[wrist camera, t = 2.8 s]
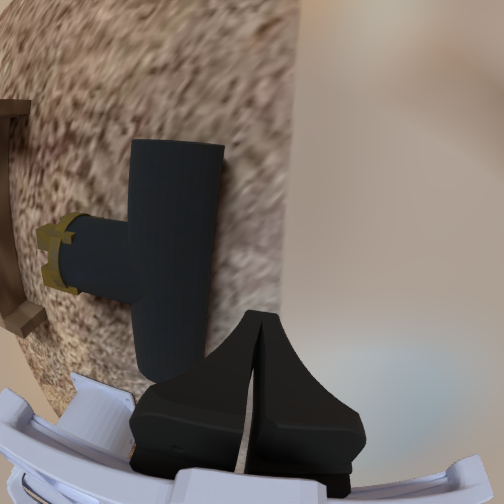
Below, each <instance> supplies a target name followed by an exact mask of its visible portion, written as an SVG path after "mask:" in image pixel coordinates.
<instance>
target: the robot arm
mask: <svg viewBox="0 0 504 504" xmlns="http://www.w3.org/2000/svg"><path fill="white" fill-rule="evenodd" d="M253 368H254V373H253V412H252V421H251V428H250V436H249V443H248V449H247V456H246V463H245V469H244V474H240V473H234V471H235V467H236V463H237V458H238V454H239V449H240V445H241V440H242V435H243V430H244V423H245V416H246V406H247V397H248V388H249V383H250V379H251V375H252V371H253ZM70 375H71V378H72V381H73V383H74V386H75V388H76V391H77V394H76V395H75V396H74V398H73V399H72V401H71V402H70V404H69V405H68V407H67V408H66V410H65V411H64V413H63V414H62V416H61V417H60V419H59V421H58V422H57V424H56V425H54V424H52V423H50V422H48V421H46V420H45V419H43V418H41V417H40V416H38V415H36V414H35V413H34V411H33V409H32V408H31V406H30V405H29V404H28V402H27V401H26V400H25V399H24V398H22V397H21V396H19V395H18V394H16V393H15V392H13V391H12V390H10V389H9V388H5V389H4V390H3V391H2V393H1V394H0V453H1V454H2V455H3V456H4V457H5V458H6V459H7V460H8V461H10V462H11V463H12V464H14V465H15V466H14V468H13V469H12V471H11V473H12V474H11V476H10V477H9V479H8V481H7V485H8V487H7V491H8V493H9V495H10V497H11V499H12V501H13V503H14V504H43V503H42V502H40V501H39V500H37V499H36V498H34V497H33V496H31V495H30V494H29V493H28V492H27V491H26V490H25V489H24V487H26V488H27V489H28V490H30V491H31V492H33V493H34V494H35V495H37V496H38V497H40V498H41V499H43V500H44V501H45V502H47V503H49V504H484V503H486V502H487V501H488V500H490V499H491V498H493V496H494V495H493V492H492V489H491V486H490V483H489V480H488V477H487V475H486V472H485V469H484V467H483V464H482V461H481V459H480V456H479V454H475V455H472V456H469V457H465V458H463V459H460V460H458V461H456V462H455V463H453V464H452V465H451V466H450V467H449V468H448V469H447V470H446V471H443V472H439V473H435V474H431V475H427V476H423V477H419V478H414V479H410V480H405V481H399V482H394V483H387V484H381V485H373V486H365V487H355V488H351V485H350V476H349V474H351V473H352V463H351V462H352V461H353V460H354V459H355V458H356V457H357V455H358V454H359V453H360V452H361V451H362V450H363V448H364V446H365V444H366V435H365V430H364V427H363V424H362V421H361V419H360V416H359V414H358V413H357V412H355V411H354V410H353V409H351V408H349V407H348V406H347V405H345V404H343V403H342V402H341V401H339V400H338V399H337V398H336V397H334V396H333V395H332V394H331V393H329V392H328V391H327V390H326V389H325V388H324V387H323V386H322V385H321V384H320V383H319V382H318V381H317V380H316V379H315V378H314V377H313V376H312V375H311V373H310V372H309V371H308V370H307V368H306V367H305V366H304V364H303V363H302V362H301V360H300V359H299V357H298V355H297V354H296V352H295V351H294V349H293V347H292V345H291V344H290V342H289V340H288V338H287V336H286V334H285V331H284V329H283V327H282V324H281V322H280V319H279V316H278V315H277V314H275V313H268V312H261V311H255V310H247V311H246V312H245V314H244V316H243V318H242V319H241V321H240V322H239V324H238V325H237V327H236V328H235V329H234V330H233V332H232V333H231V334H230V335H229V336H228V337H227V338H226V339H225V340H224V342H223V343H222V344H221V345H220V346H219V347H218V348H216V349H215V350H214V351H213V352H212V353H211V354H209V355H208V356H207V357H206V358H204V359H203V360H201V361H200V362H199V363H197V364H196V365H194V366H193V367H191V368H189V369H188V370H186V371H184V372H182V373H180V374H178V375H176V376H174V377H172V378H170V379H168V380H165V381H162V382H160V383H157V384H154V385H151V386H149V388H148V389H147V390H146V391H145V393H144V394H143V395H142V397H141V398H140V400H139V401H138V403H137V404H136V406H135V402H134V398H133V396H132V394H130V393H128V392H125V391H122V390H119V389H116V388H113V387H111V386H108V385H105V384H102V383H100V382H97V381H94V380H92V379H89V378H87V377H84V376H82V375H79V374H77V373H74V372H72V373H71V374H70ZM134 442H135V443H136V445H137V446H136V448H135V450H134V453H133V455H132V457H131V459H129V458H128V456H129V453H130V451H131V449H132V446H133V444H134ZM23 486H24V487H23Z"/></svg>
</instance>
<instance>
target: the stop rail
mask: <svg viewBox="0 0 504 504" xmlns="http://www.w3.org/2000/svg"><path fill="white" fill-rule="evenodd" d="M30 104H31V100H17V99H0V326H1V327H3V328H5V329H7V330H8V331H10V332H12V333H14V334H16V335H18V336H19V337H21V338H23V339H25V338H26V337H27V336H28V335H29V334H30V333H31V332H32V331H33V330H34V329H35V328H36V327H37V326H38V325H39V324H40V323H41V322H42V321H43V320H45V319H46V318H47V316H46V312H45V308H44V307H42V306H40V305H37V304H34V303H32V302H29V301H27V300H26V298H25V294H24V290H23V286H22V281H21V277H20V272H19V267H18V262H17V256H16V251H15V244H14V238H13V230H12V222H11V212H10V199H9V175H8V155H9V132H10V119H11V118H13V117H17V116H22V115H26V114H29V113H30Z"/></svg>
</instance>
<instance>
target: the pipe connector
mask: <svg viewBox="0 0 504 504" xmlns="http://www.w3.org/2000/svg"><path fill="white" fill-rule="evenodd" d="M224 149H225V146H224V145H218V144H209V143H199V142H187V141H174V140H152V139H132V145H131V156H130V170H129V187H128V222H125V221H118V220H111V219H104V218H103V217H96V216H91V215H89V214H84V213H76V212H73V213H69V214H67V215H65V216H63V217H61V218H60V221H59V223H58V224H57V225H56V224H50V223H48V224H46V225H44V226H41V227H39V228H37V229H36V235H37V244H38V249H41V250H45V251H48V263H47V264H45V265H44V266H42V267H41V271H42V277H43V283H44V285H45V286H48V287H51V288H55V289H58V290H61V291H64V292H68V293H71V294H74V295H79V294H80V293H81V292H85V293H88V294H92V295H96V296H100V297H103V298H107V299H111V300H115V301H119V302H123V303H127V304H131V316H132V326H133V335H134V344H135V351H136V359H137V365H138V368H139V370H140V372H141V373H142V374H143V376H145V377H146V378H147V379H149V380H150V381H152V382H154V383H160V382H162V381H165V380H168V379H170V378H172V377H174V376H176V375H178V374H180V373H182V372H184V371H186V370H188V369H189V368H191V367H193V366H194V365H196V364H197V363H199V362H200V361H201V360H203V359H204V351H205V335H206V321H207V308H208V296H209V284H210V273H211V262H212V252H213V242H214V232H215V223H216V214H217V205H218V196H219V188H220V180H221V172H222V164H223V157H224Z"/></svg>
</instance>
